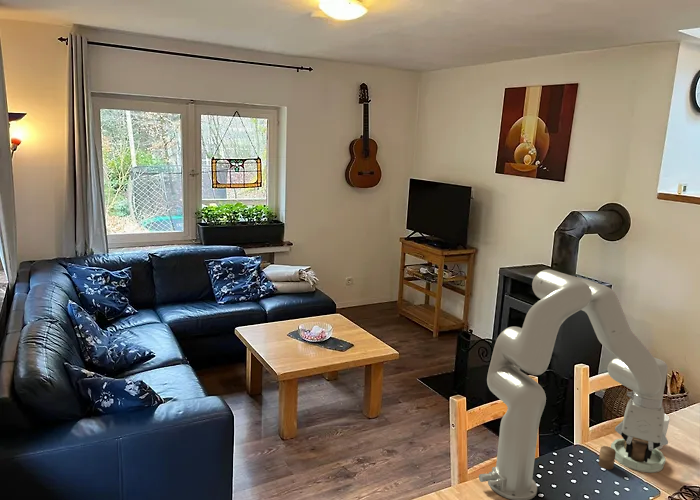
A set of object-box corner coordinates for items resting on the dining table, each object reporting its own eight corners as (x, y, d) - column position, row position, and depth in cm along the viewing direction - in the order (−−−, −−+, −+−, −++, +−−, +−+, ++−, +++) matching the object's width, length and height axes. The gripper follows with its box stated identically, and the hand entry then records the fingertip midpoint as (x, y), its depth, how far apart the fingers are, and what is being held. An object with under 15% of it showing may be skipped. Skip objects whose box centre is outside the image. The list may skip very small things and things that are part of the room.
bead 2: (629, 459, 155) (631, 443, 154) (629, 452, 158) (632, 437, 157) (644, 463, 153) (647, 447, 152) (645, 456, 156) (647, 441, 155)
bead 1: (605, 470, 152) (607, 454, 152) (595, 462, 156) (597, 446, 155) (616, 468, 154) (618, 453, 153) (606, 460, 157) (608, 445, 156)
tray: (635, 475, 151) (638, 456, 149) (600, 448, 164) (603, 430, 163) (674, 469, 154) (678, 450, 153) (637, 443, 168) (640, 426, 166)
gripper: (613, 397, 153) (605, 454, 156) (681, 413, 145) (670, 473, 148) (615, 387, 159) (607, 443, 163) (679, 402, 151) (669, 460, 155)
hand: (637, 456), depth 156 cm, fingers closed on bead 2, 3 cm apart
